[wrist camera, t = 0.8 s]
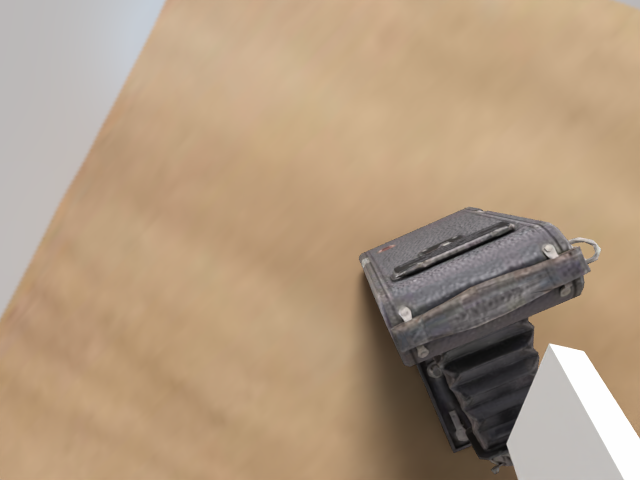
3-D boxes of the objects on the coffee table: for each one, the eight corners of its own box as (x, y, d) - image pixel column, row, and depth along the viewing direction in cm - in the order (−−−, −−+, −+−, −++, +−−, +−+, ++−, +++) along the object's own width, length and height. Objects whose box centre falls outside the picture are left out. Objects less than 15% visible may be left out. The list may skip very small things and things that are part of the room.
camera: (426, 435, 48) (503, 623, 28) (349, 241, 46) (373, 294, 26) (555, 386, 47) (726, 542, 28) (483, 188, 46) (610, 202, 26)
